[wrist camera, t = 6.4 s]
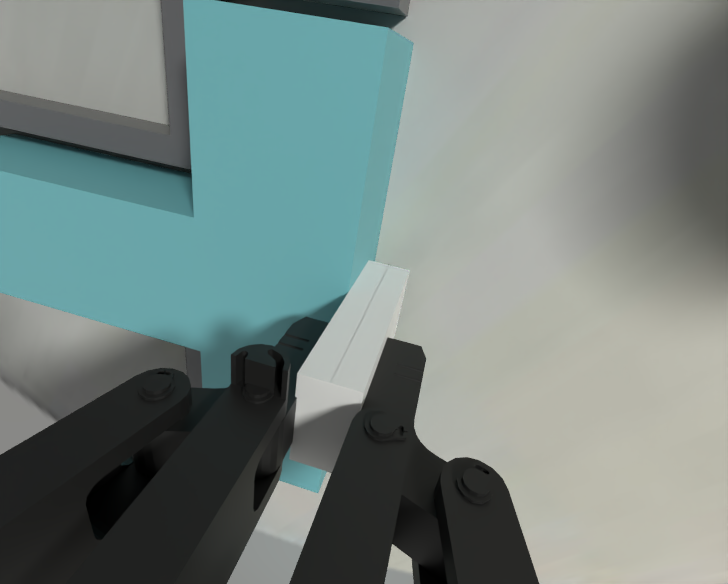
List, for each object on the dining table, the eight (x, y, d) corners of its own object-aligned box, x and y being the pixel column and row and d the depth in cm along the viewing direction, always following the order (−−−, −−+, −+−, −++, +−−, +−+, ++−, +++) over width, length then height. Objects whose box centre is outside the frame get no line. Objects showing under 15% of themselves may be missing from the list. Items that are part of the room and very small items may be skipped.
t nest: (414, -26, 12) (406, -40, 10) (335, 443, 21) (325, 467, 20) (-98, -97, 14) (-156, -115, 13) (32, 348, 23) (6, 364, 22)
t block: (413, 43, 12) (388, 27, 9) (345, 422, 20) (318, 493, 17) (-24, -28, 15) (-178, -62, 11) (64, 337, 22) (-12, 383, 19)
